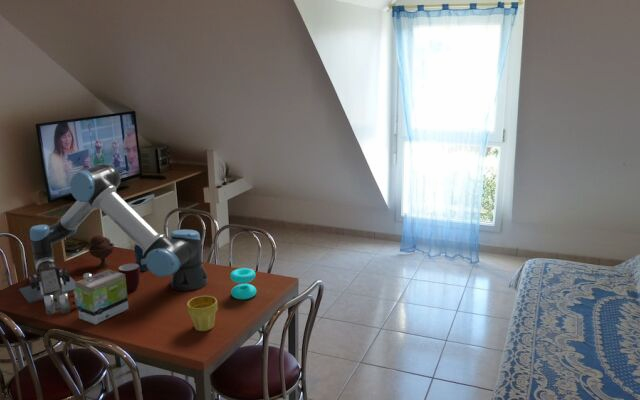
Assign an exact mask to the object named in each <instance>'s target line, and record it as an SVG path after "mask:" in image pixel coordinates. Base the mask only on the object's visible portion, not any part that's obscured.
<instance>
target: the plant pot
mask: <svg viewBox="0 0 640 400" xmlns="http://www.w3.org/2000/svg"><path fill="white" fill-rule="evenodd" d="M186 305H187V307H186V308H187V313H188V315H190V317H191V321H192V324H193V326H194V329H195V330H196V331H198V332H206V331H210V330H212V329H214V326H215V321H216V312H217V311H218V309H219V308H218V300H217V298H216V297H214V296H211V295H200V296H195V297H193V298H190V300H188V301H187V304H186Z"/></svg>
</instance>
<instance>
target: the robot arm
mask: <svg viewBox="0 0 640 400" xmlns="http://www.w3.org/2000/svg"><path fill="white" fill-rule="evenodd" d="M121 179H122V177H121V173H120V172H119V170H118V169H117V168H116V167H115V166H113V165H110V164H107V163H106V164H105V163H103V164H99V165H95V166H92V167H89V168H86V169H82V170H80V171H77V172H75V173H74V174H73V175H72V176H71V178H70V181H69V182H70V183H69V186H70V188H69V189H70V194H71V195H72V196H73V198H74V199H75V200H76V201H75V202H74V204H73V205H71V207H70V208H69V209H68V210H67V211H66V212H65V213H64V214H63V216H62V217H61V218H59V220H58V221H57V222H55V223H54V224H52V225H49V224H48V225H47V224H37V225H33V226H31V228H30V229H29V237H30V238H29V239H30V242H31V249H32V254H33V255H32V256H33V264H34V266H35V270H36V274H31V273H30V274H29V282H30V286H31V289H34V288H37V290H41V294H42V295H43V294H44V292H43V287H42V283H41V278H40V272H39V266H38V265H40V264H45V263H49V262H54V261H55V258H54V251H53V250H54V249H53V245H54V244H56V243H58V242H60V241H63V240H65V239H67V238H70V237H72V236H73V235H75V234H76V233H77V230H78V227H79V226H80V225H81V224H82V223H83V221H84V220H86V219H87V217H88V216H89V215H90V214H91V213H92V212H93V211H94V209H96V208H97V209H98V208H99V209H100V210H101V211H102V212H103V213H104V214H105V215H106V216H107V217H108V218H109V219H110V220H111V221H113V223H114V224H116V226H117V227H119V228H120V229H121V230H122V231H123V232H124V233H125V234H126V235H127V236H128V237H129V238H130V239H131V240H132V241H133V242H134V244H135V243H136V244H137V245H138V246H139V247H141V248H142V249H143V256H144V257H145V258H146V260H145V262H146V263H147V265H146V266H147V268H148V269H149V270H148V271H149V272H150V273H152V274H153V275H155V276H156V277H161V278H163V277H165V278H166V277H169V276H170V287H171V288H173V289H174V290H177V291H183V292H184V291H185V292H187V291H194V290H198V289H201V288H203V287H205V286H206V285H207V284H208V283H209V281H208V280H209V279H208V275H207V272H206V270H205V268H204V266H203V257H202V245H201V243H202V242H201V236H200V235H201V234H200V232H198V231H197V230H194V229H175V230H173V231H171V232H170V237H169V236H168V235H166V234H164V233H163V234H162V233H158V232H157V230H156V229H155V228H154V227H152V226H151V225H150V224H149V223H148V222H147V221H146V220H145V219H144V218H143V217H142V216H141V214H139V213H138V212H137V211H136V210H135V209H134V208H133V207H132V206H131V205H130V204H129V203H128V202H126V200H124V199H123V198H122V196H120V195H119V194H118V193H117V189H118V187H119V186H120V184H121ZM59 273H60V280H61V287H62V291H63V290H64V285H66V281H67V282H70V277H71V276H70V275H69V273H68V272H67V268H66V267H63V268H61V270H60V269H59ZM69 276H70V277H69Z"/></svg>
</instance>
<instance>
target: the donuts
mask: <svg viewBox="0 0 640 400" xmlns="http://www.w3.org/2000/svg"><path fill="white" fill-rule="evenodd" d="M229 275H230V276H229V278H230V279H231V281H232V282H234V283H236V284H237V283H238V284H237V285H235V286H234V287H233V288H232V289H231V291H230V292H231V293H230V294H231V297H233V298H235V299H236V300H248V299H252V298H253V297H254V296H255V295H256V294H257V291H258V290H257V288H256V287H255V286H254V285H253V284H250V282H252V281H253V280H255V279H256V276H257V275H256V272H255V270H254V269H252V268H249V267H248V268H247V267H242V268H241V267H240V268H237V269H234V270H232V271H231V273H230V274H229Z"/></svg>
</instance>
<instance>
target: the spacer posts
mask: <svg viewBox="0 0 640 400" xmlns="http://www.w3.org/2000/svg"><path fill="white" fill-rule="evenodd" d="M82 276H83V279H85V278H88V277H90V276H93V274H92V273H91V272H86V273H84V274H83V275H82ZM58 296H59V303H60V308H59V310H60V314H67V313H69V312H71V308H70V302H69V295H68V293H65V292H64V293H60V294H59V295H58ZM73 296H74V303H75V304H74V305H75V309H77V310H78V303H77V295H76V289H75V290H74V291H73ZM43 302H45V303H44V307H45V314H46V315H53V314H55V313H56V309H55V305H54V298H53V294H46V295H44V299H43Z"/></svg>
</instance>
